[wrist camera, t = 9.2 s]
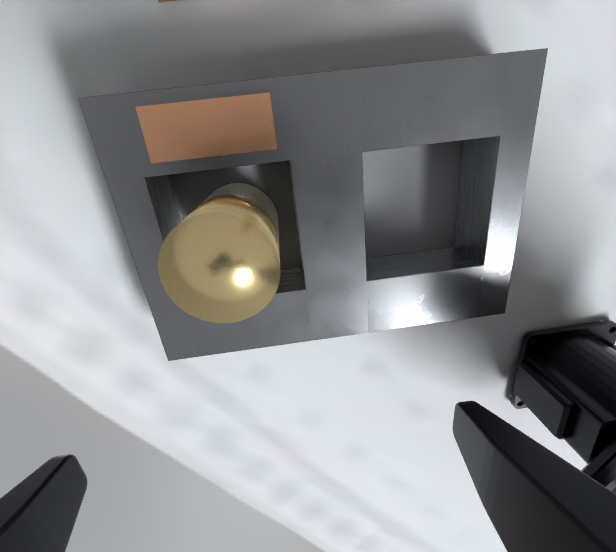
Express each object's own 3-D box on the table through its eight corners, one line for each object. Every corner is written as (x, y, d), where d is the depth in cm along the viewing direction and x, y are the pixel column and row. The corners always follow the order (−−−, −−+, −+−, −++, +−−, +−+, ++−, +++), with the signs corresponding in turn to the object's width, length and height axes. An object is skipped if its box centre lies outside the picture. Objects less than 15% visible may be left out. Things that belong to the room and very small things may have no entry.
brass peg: (272, 178, 17) (271, 205, 10) (282, 252, 18) (287, 315, 12) (193, 187, 16) (141, 221, 10) (211, 261, 18) (176, 330, 12)
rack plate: (499, 63, 15) (551, 46, 13) (473, 289, 20) (507, 315, 17) (114, 105, 15) (74, 97, 12) (183, 329, 20) (167, 363, 17)
